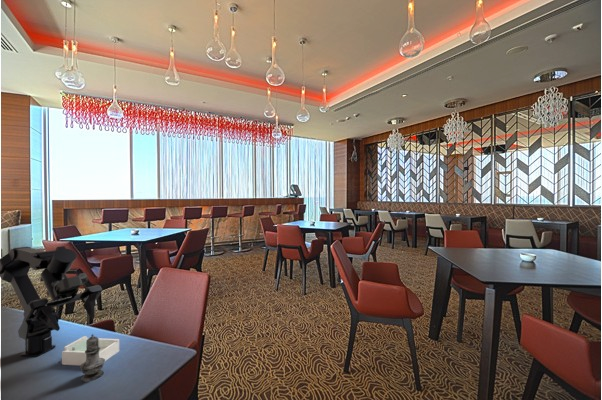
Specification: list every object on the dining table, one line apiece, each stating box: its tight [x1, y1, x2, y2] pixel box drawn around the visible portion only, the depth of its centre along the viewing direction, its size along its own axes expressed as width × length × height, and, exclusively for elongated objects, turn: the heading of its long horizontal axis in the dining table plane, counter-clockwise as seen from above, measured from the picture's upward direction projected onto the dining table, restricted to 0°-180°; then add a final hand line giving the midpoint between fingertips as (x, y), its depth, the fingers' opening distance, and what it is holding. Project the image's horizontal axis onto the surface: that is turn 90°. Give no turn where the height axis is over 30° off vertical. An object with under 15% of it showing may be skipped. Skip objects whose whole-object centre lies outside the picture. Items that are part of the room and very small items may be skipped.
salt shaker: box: [79, 333, 106, 382], centre depth 83 cm, size 6×6×12 cm
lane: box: [61, 335, 120, 366], centre depth 93 cm, size 12×9×5 cm
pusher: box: [72, 337, 90, 351], centre depth 93 cm, size 1×7×4 cm, turn 174°
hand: (76, 323), depth 86 cm, fingers open, 9 cm apart
